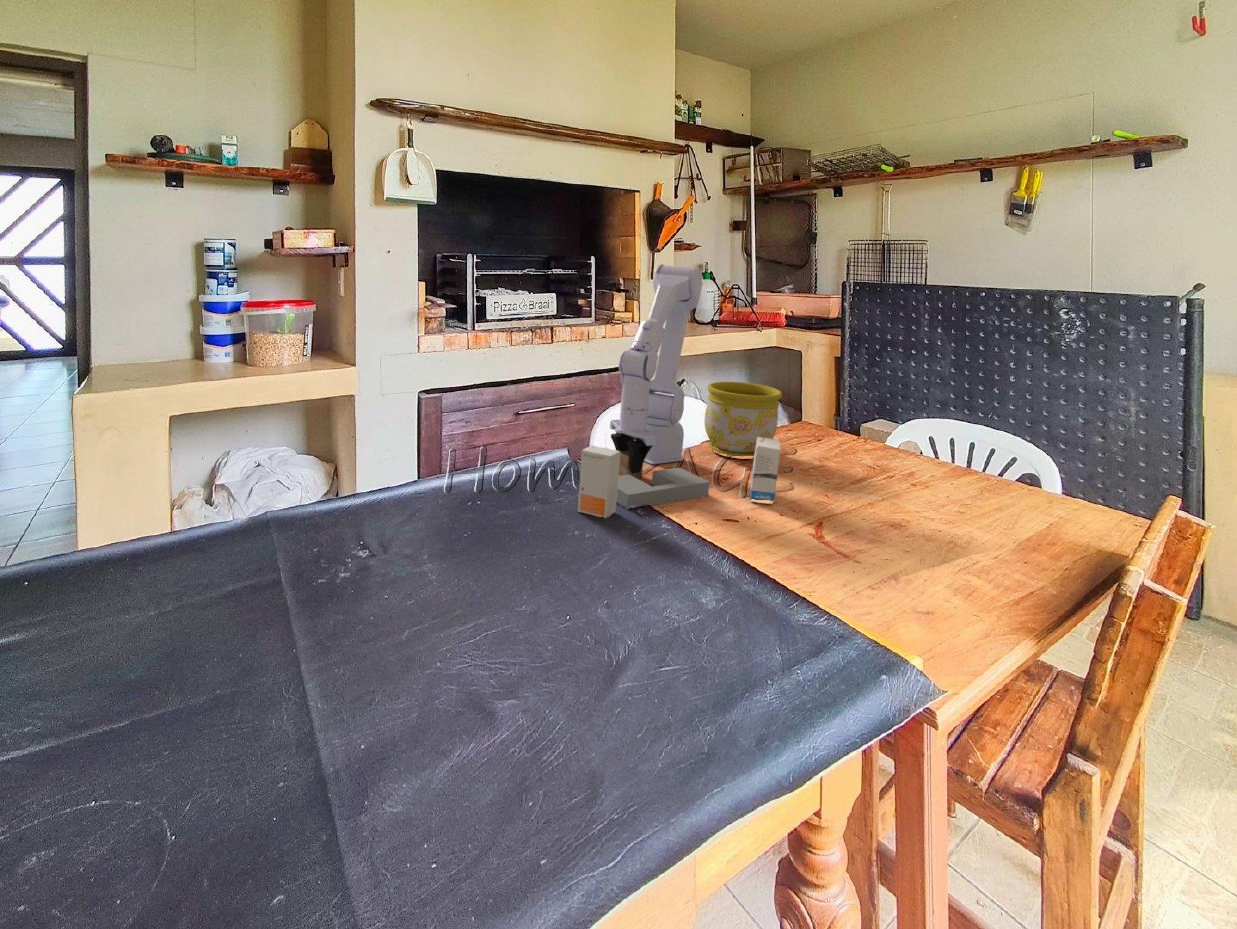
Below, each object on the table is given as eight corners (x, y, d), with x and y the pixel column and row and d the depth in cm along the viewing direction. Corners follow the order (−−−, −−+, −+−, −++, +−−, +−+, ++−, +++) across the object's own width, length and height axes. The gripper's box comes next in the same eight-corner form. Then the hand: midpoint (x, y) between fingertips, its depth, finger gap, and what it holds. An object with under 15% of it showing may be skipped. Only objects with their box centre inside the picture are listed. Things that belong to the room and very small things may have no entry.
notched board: (677, 480, 147) (679, 467, 146) (708, 495, 139) (709, 481, 139) (598, 492, 136) (599, 478, 136) (626, 509, 129) (628, 494, 128)
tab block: (631, 471, 151) (633, 449, 150) (641, 477, 148) (643, 454, 147) (616, 473, 149) (617, 451, 148) (626, 479, 146) (628, 456, 144)
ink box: (773, 506, 137) (782, 449, 133) (748, 502, 137) (756, 446, 134) (772, 492, 145) (781, 438, 141) (749, 489, 145) (756, 435, 142)
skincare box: (576, 512, 125) (580, 449, 122) (587, 505, 129) (591, 444, 126) (606, 519, 123) (611, 456, 120) (616, 512, 127) (621, 450, 123)
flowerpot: (744, 441, 184) (752, 380, 179) (787, 460, 169) (797, 395, 164) (687, 445, 176) (693, 381, 171) (727, 466, 161) (736, 397, 156)
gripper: (600, 401, 148) (596, 461, 152) (638, 416, 136) (633, 481, 140) (627, 399, 151) (622, 458, 155) (666, 414, 140) (660, 477, 144)
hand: (629, 469), depth 148 cm, fingers closed on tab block, 4 cm apart
